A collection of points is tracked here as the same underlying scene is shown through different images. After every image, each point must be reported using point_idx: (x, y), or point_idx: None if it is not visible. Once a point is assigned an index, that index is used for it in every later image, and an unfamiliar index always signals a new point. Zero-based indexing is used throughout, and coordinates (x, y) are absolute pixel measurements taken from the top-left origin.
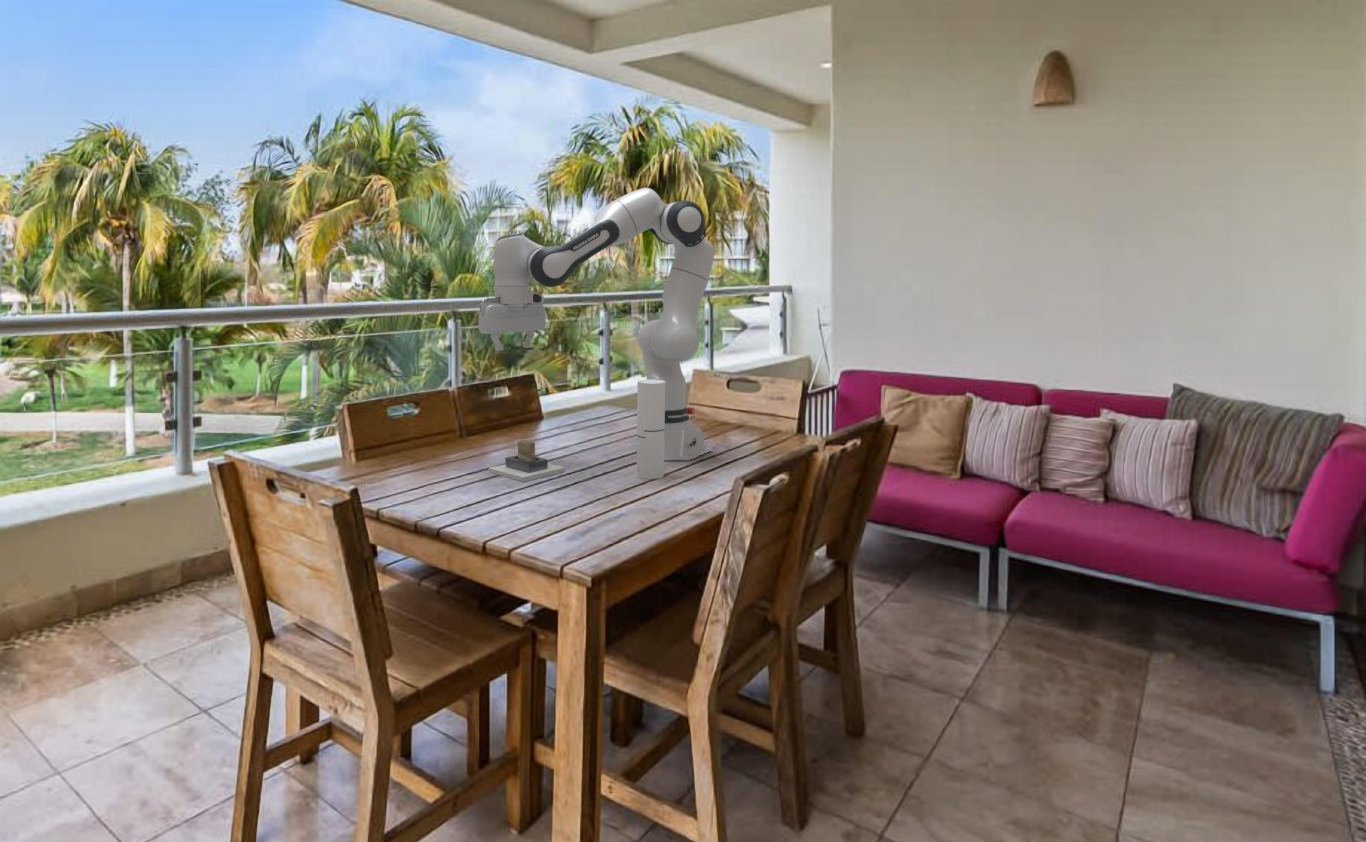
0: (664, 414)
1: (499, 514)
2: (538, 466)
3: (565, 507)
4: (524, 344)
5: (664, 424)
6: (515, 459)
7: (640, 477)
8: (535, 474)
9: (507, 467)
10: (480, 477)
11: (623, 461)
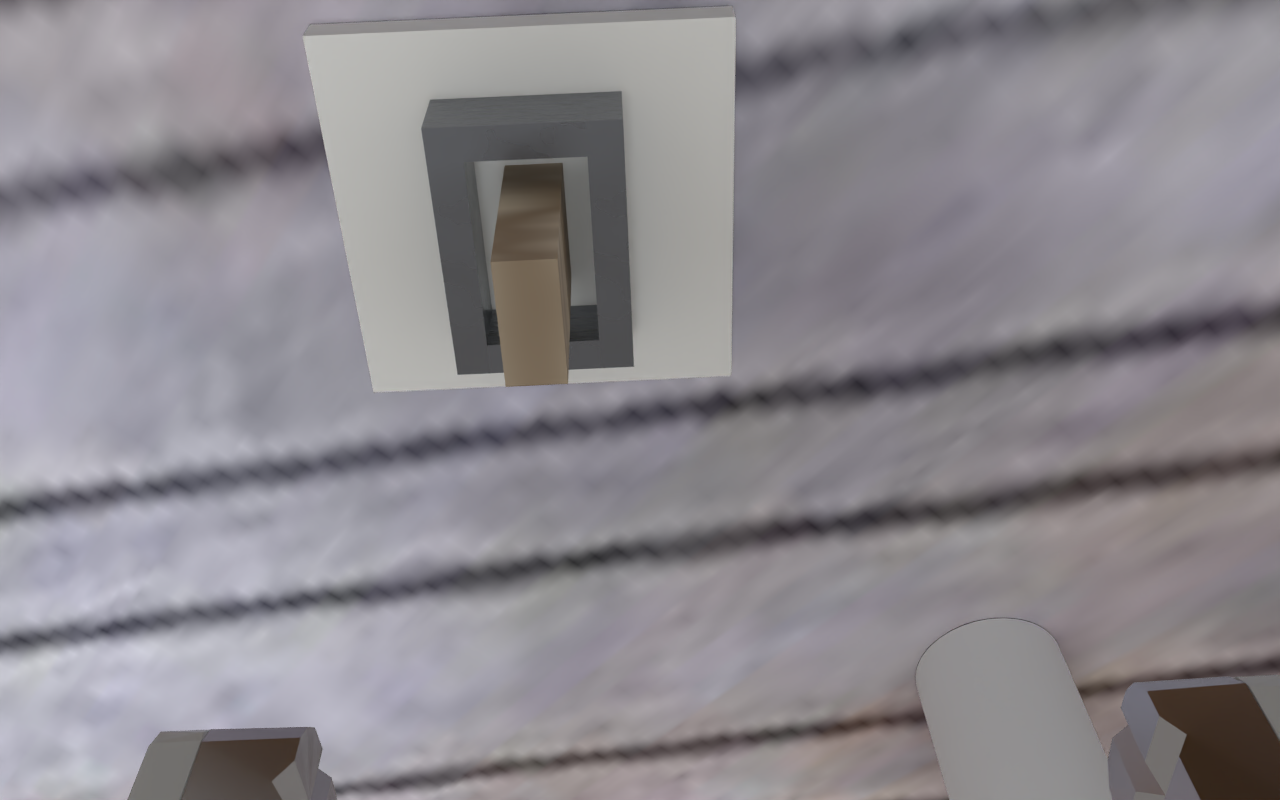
0: None
1: (4, 691)
2: None
3: None
4: (1173, 774)
5: None
6: (451, 228)
7: (916, 671)
8: (478, 387)
9: None
10: (192, 105)
11: (1191, 400)
